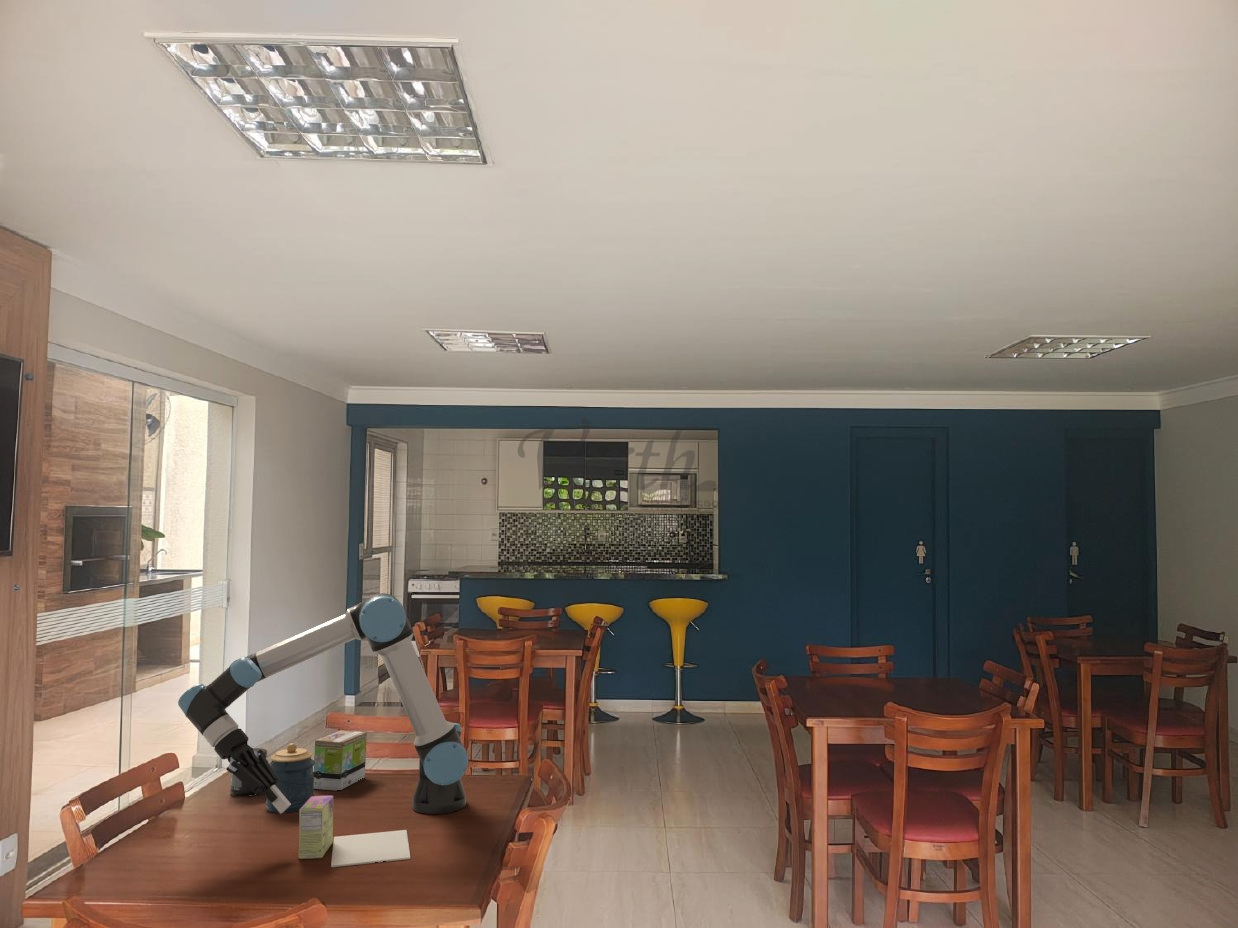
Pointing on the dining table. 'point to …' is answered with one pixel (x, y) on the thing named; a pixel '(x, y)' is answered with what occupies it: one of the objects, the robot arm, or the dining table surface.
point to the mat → (370, 848)
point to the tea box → (339, 760)
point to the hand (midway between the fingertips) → (285, 808)
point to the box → (315, 827)
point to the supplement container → (238, 786)
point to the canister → (293, 776)
